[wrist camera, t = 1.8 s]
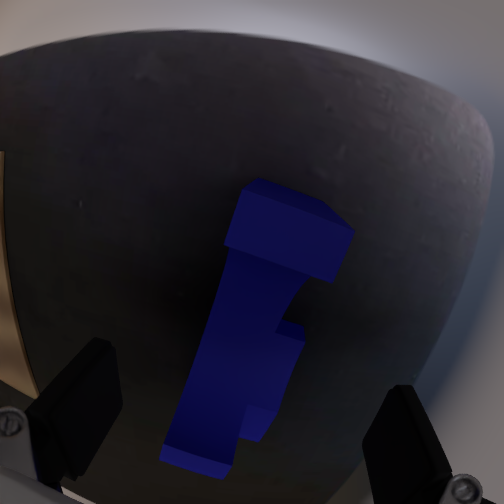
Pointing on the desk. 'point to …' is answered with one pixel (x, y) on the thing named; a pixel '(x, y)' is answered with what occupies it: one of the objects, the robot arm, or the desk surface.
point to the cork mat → (11, 322)
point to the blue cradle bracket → (253, 324)
